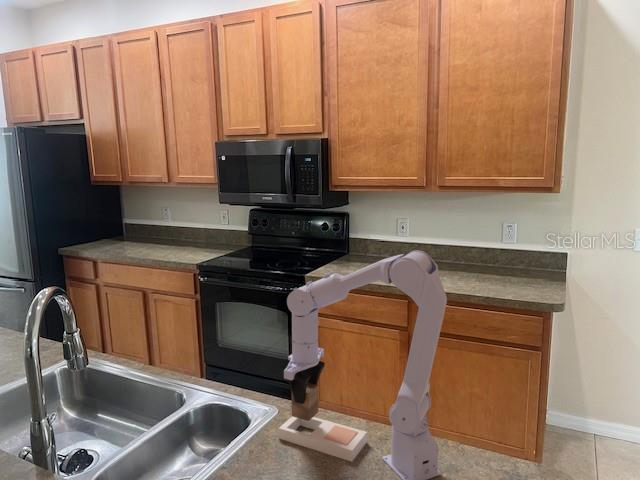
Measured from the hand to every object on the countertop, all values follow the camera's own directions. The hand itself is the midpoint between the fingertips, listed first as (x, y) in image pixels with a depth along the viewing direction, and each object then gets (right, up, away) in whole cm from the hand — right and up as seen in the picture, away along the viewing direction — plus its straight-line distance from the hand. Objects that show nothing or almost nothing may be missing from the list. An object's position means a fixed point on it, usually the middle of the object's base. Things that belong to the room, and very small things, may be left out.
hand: (305, 397), depth 106 cm
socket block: (+4, -9, -1) cm, 10 cm away
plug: (0, -4, +1) cm, 4 cm away
